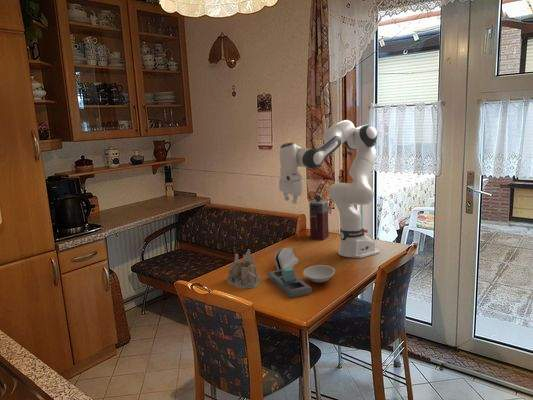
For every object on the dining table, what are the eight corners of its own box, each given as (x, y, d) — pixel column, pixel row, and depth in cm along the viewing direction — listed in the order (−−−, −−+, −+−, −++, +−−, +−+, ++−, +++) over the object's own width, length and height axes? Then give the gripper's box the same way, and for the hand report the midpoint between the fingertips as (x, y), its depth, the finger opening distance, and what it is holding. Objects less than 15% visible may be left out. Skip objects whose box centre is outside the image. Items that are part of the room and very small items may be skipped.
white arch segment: (286, 271, 206) (279, 253, 206) (278, 273, 208) (271, 255, 208) (299, 261, 221) (292, 243, 220) (291, 263, 223) (285, 245, 223)
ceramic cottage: (229, 275, 204) (228, 247, 200) (262, 276, 202) (261, 248, 198) (222, 290, 189) (220, 259, 185) (258, 291, 187) (257, 260, 183)
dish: (309, 273, 202) (308, 263, 201) (338, 276, 197) (338, 266, 196) (299, 287, 186) (298, 277, 185) (330, 290, 181) (330, 279, 180)
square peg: (282, 284, 190) (281, 268, 189) (291, 282, 192) (290, 266, 190) (286, 288, 186) (285, 271, 185) (295, 286, 188) (294, 269, 186)
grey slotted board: (287, 274, 202) (286, 268, 202) (311, 293, 178) (311, 287, 178) (268, 278, 199) (267, 272, 198) (290, 298, 175) (290, 291, 174)
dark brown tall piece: (308, 239, 259) (307, 195, 253) (315, 235, 268) (314, 192, 263) (322, 241, 254) (321, 196, 249) (328, 236, 264) (327, 193, 259)
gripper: (275, 173, 219) (277, 199, 221) (292, 178, 200) (293, 206, 203) (286, 172, 221) (287, 198, 224) (303, 176, 202) (305, 204, 205)
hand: (290, 202), depth 213 cm, fingers open, 8 cm apart
